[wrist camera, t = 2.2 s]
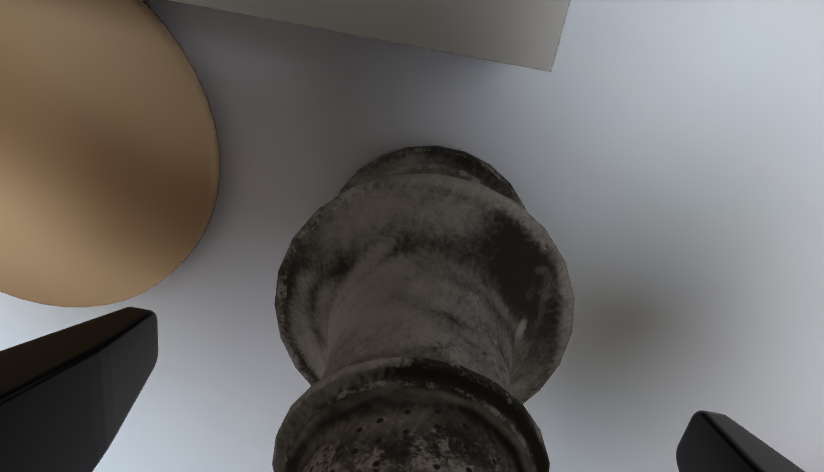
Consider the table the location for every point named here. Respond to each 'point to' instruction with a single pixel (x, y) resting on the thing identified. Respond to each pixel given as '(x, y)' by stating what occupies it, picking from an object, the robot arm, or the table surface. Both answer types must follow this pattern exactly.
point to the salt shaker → (421, 322)
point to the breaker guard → (429, 24)
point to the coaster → (98, 152)
